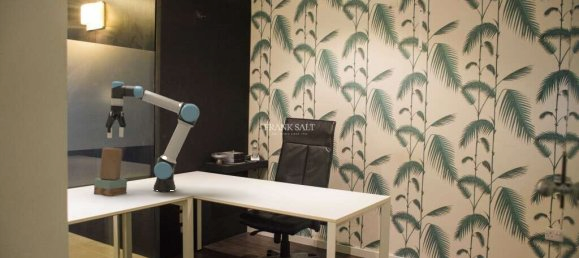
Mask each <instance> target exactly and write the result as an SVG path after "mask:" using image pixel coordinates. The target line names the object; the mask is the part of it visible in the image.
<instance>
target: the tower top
mask: <svg viewBox="0 0 579 258" xmlns="http://www.w3.org/2000/svg"><path fill="white" fill-rule="evenodd" d="M93 179H94V180H93V187H99V188H104V189H116V188H122V187H127V188H128V179H127V178H119V179H116V180H105V179H100V177H97V178H93Z"/></svg>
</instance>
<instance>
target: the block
mask: <svg viewBox="0 0 579 258" xmlns="http://www.w3.org/2000/svg"><path fill="white" fill-rule="evenodd" d="M122 156H123V149H122V148H120V147H103V148H102V151H101V160H100V161H101V162H100V171H99V173H100V174H99V178H100V179H105V180H116V179H119V178H120V177H121V169H122Z"/></svg>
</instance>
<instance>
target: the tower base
mask: <svg viewBox="0 0 579 258" xmlns="http://www.w3.org/2000/svg"><path fill="white" fill-rule="evenodd" d="M93 187H94V186H93ZM127 188H128V186H127V187H122V188H116V189H104V188H99V187H94V189H93V195H97V196H106V197H117V196H119V195H120V194H121V195H124V194H127ZM123 193H124V194H123Z"/></svg>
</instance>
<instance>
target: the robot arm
mask: <svg viewBox="0 0 579 258" xmlns="http://www.w3.org/2000/svg"><path fill="white" fill-rule="evenodd" d="M110 89H111V94H110V95H111V96H110V99H111V100H110V112H108V116H107V120H106V122H105V126H104V127H105V128H107V137H106V138H107V139H112V138H113V128H112V127H113V125H114V124H115V121H116V120H117V122H118V125H119V131H118V132H119V133H118V137H119V138H124V132H125V131H124V130H125V128H126V126H127V125H126V124H127V123H126V119H125V113H124V112H123V111H124V98H125V97H127V98H135V99H138V100H141V101H143V102H146V103H149V104H151V105H154V106H158V107H160V108H163V109H165V110H168V111H171V112H174V113H176V114H177V116H178V118H177V122H178V123H177V126H176V128H175V130H174V132H173V134H172V136H171V138H170V140H169V143H168V144H167V146H166V149H165V151H164V152H163V154H162V155H160V157H158V158H157V161H156V164H155V165H154V168H153V173H154V176H155V177H156V179H155V182H154V185H153V187H152V188H153V189H154V190H158V191H170V190H175V189H176V188H177V187H176V184H175V180H174V177H175V167H176V166H177V161H176V160H177V158H178V155H179V153H180V151H181V149H182V147H183V145H184V143H185V140H186V138H187V137H188V134H189V132H190V130H191V128H194V127H195V124H196V122H197V120H198V118H199V117H200V113H201V112H200V109H199V107H198V106H197V105H196V104H194V103H187V102H184V101H181V102H180V101H176V100H174V99H172V98H169V97H167V96H163V95H161V94H158V93H155V92H152V91H149V90H147V89H145V88H144V87H143V86H140V85H128V84H127V85H126V84H125V82H122V81H112V82H111V88H110ZM154 190H153V191H154ZM175 191H176V190H175Z"/></svg>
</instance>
